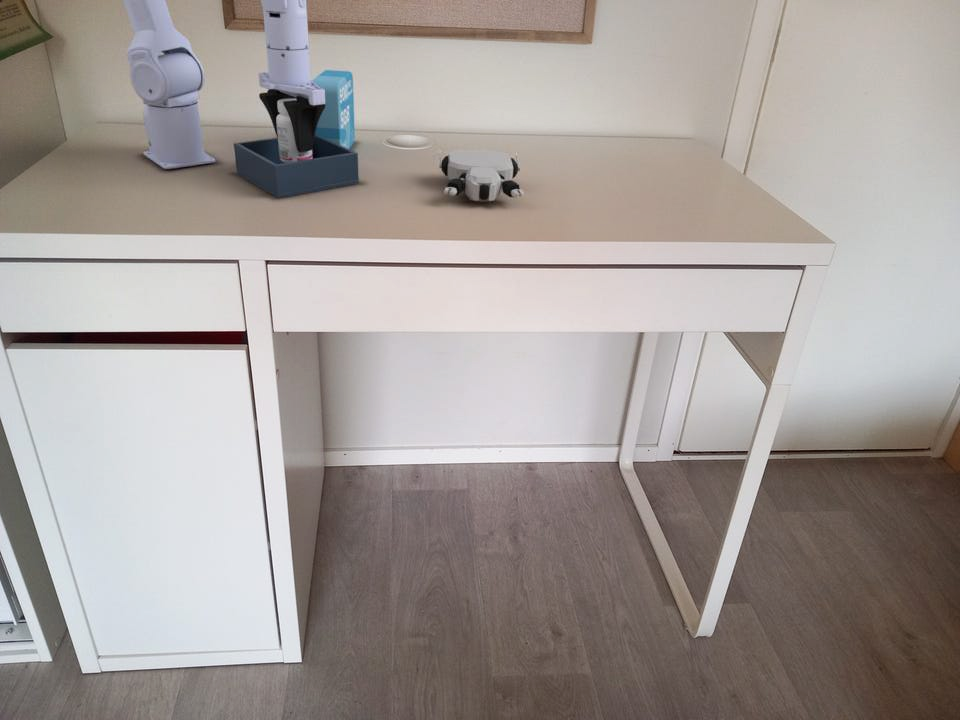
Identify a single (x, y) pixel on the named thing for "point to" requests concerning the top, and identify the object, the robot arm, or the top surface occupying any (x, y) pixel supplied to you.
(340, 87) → the blue carton
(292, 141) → the pill bottle
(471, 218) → the top surface
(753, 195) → the top surface
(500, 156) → the robot toy
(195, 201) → the top surface
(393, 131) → the top surface
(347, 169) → the tote
